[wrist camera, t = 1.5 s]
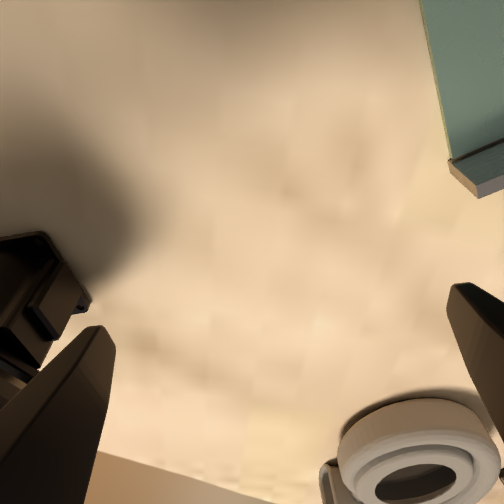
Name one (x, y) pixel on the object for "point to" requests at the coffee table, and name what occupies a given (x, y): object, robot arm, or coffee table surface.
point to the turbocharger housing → (413, 457)
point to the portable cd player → (501, 475)
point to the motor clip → (470, 86)
